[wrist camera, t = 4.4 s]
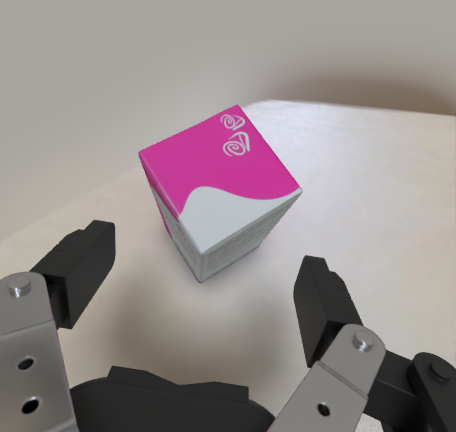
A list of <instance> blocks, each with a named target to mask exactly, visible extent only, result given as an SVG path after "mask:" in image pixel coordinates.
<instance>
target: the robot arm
mask: <svg viewBox="0 0 456 432" xmlns="http://www.w3.org/2000/svg"><path fill="white" fill-rule="evenodd" d="M114 261H115V225H114V223H111V222H105V221H99V220H93V221H92V222H91V223H90V224H89V225H88V226H87V227H86V228H85V229H84V230H80V229H79V230H77V231H74V232H72V233H70V234H68V235H66V236H65V237H64V238H63V239H62V240H61V241H60V242H59V244H57V245H56V246H55V247H54V248H53V250H52V251H50V252H49V253H48V254H47V255H46V256H45V257H43V258H42V259H41V260H40V261H39V262H38V263H37V264H36V265H35V266H34V267H33V268H32V269H31V270H30V271H29V272H20V273H15V274H12V275H9V276H7V277H5V278H3V279H1V280H0V432H355V429H356V427H357V425H358V422H359V420H360V418H361V415H362V413H364V414H367V415H369V416H371V417H373V418H375V419H377V420H379V421H380V422H381V425H382V428H383V431H384V432H456V369H455V368H454V367H453V366H452V365H451V364H450V363H448V362H447V361H445V360H444V359H442V358H440V357H438V356H436V355H434V354H431V353H426V352H421V353H418V354H416V355H415V357H414V358H413V360H409V359H407V358H404V357H402V356H400V355H397V354H395V353H392V352H390V351H388V350H386V348H385V345H384V343H383V342H382V340H381V339H380V338H379V337H378V336H377V335H376V334H375V333H374V332H373V331H371V330H370V329H368V328H366V327H364V326H363V323H362V321H361V319H360V317H359V314H358V312H357V310H356V308H355V305H354V303H353V301H352V300H351V297H350V294H349V292H348V290H347V288H346V285H345V283H344V281H343V280H342V279H341V278H340V277H339V276H338V275H337V274H336V273H335V272H331V271H329V269H328V266H327V264H326V261H325V259H324V258H319V257H313V256H307V255H306V256H305V257H304V258H303V261H302V264H301V267H300V270H299V273H298V276H297V279H296V282H295V285H294V292H293V297H294V303H295V308H296V313H297V318H298V323H299V328H300V333H301V338H302V343H303V348H304V353H305V358H306V363H307V367H308V368H311V369H310V370H309V372H308V373H307V375H306V376H305V378H304V379H303V380H302V382H301V383H300V385H299V386H298V388H297V389H296V390H295V392H294V393H293V395H292V396H291V398H290V399H289V400H288V402H287V403H286V405H285V406H284V408H283V409H282V410H281V412H280V413H279V415H278V416H277V418H275V417H274V416H273V415H272V414H271V413H270V412H269V411H268V410H267V409H265V408H264V407H263V406H261V405H260V404H258V403H256V402H255V401H253V400H250V399H249V396H248V387H246V386H240V385H234V384H227V383H221V382H207V383H197V384H187V385H177V384H175V383H172V382H170V381H168V380H165V379H163V378H161V377H159V376H156V375H154V374H152V373H149V372H147V371H143V370H137V369H130V368H124V367H117V366H112V367H111V369H110V372H109V374H108V376H107V377H103V378H98V379H93V380H90V381H87V382H84V383H81V384H79V385H77V386H75V387H73V388H71V389H69V385H68V380H67V375H66V371H65V366H64V361H63V357H62V352H61V347H60V343H59V338H58V333H57V330H58V329H59V327H60V328H66V329H72V328H73V326H74V325H75V323H76V322H77V320H78V319H79V317H80V316H81V314H82V313H83V311H84V310H85V308H86V307H87V305H88V304H89V302H90V300H91V299H92V297H93V296H94V294H95V293H96V291H97V290H98V288H99V287H100V285H101V284H102V282H103V281H104V279H105V278H106V276H107V275H108V273H109V272H110V270H111V269H112V267H113V264H114Z"/></svg>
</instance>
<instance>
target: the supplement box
mask: <svg viewBox="0 0 456 432" xmlns="http://www.w3.org/2000/svg"><path fill="white" fill-rule="evenodd" d="M139 158H140V160H141V163H142V166H143V169H144V171H145V174H146V176H147V179H148V182H149V184H150V187H151V190H152V192H153V194H154V197H155V200H156V202H157V205H158V208H159V211H160V213H161V216H162V218H163V221H164V224H165V227H166V229H167V231H168V233H169V234H170V236H171V238H172V240H173V241H174V243H175V245H176V246H177V248H178V250H179V251H180V253H181V255H182V256H183V258H184V260H185V261H186V263H187V264H188V266H189V268H190V269H191V271H192V272H193V274H194V276H195V277H196V279H197V280H198V282H199V283H202V282H203V281H205V280H207V279H208V278H210V277H211V276H213V275H215V274H216V273H218V272H219V271H221V270H223V269H224V268H226V267H227V266H229V265H231V264H232V263H234V262H235V261H237V260H239V259H240V258H242V257H243V256H245V255H247V254H248V253H250V252H251V251H253V250H254V249H256V248H257V247H259V245H260V244H261V243H262V241H263V240H264V239H265V237H266V236H267V235H268V234H269V233H270V231H271V230H272V229H273V228H274V226H275V225H276V224H277V223H278V222H279V220H280V219H281V218H282V217H283V216H284V214H285V213H286V212H287V211H288V209H289V208H290V207H291V206H292V205H293V203H294V202H295V201H296V200H297V198H298V197H299V196H300V195H301V193H302V192H303V191H302V188H301V187H300V186H299V185H298V183H297V182H296V181H295V179H294V178H293V177H292V175H291V174H290V173H289V171H288V170H287V169H286V168H285V166H284V165H283V164H282V162H281V161H280V160H279V158H278V157H277V156H276V154H275V153H274V152H273V150H272V149H271V148H270V146H269V145H268V144H267V143H266V141H265V140H264V139H263V137H262V136H261V134H260V133H259V132H258V131H257V129H256V128H255V127H254V125H253V124H252V123H251V121H250V120H249V119H248V117H247V116H246V115H245V113H244V112H243V111H242V109H241V108H240V107H239V106H238V105H236V106H233V107H231V108H228V109H226V110H224V111H222V112H220V113H218V114H216V115H214V116H212V117H211V118H209V119H207V120H205V121H203V122H201V123H199V124H197V125H195V126H193V127H190V128H188V129H186V130H184V131H182V132H180V133H178V134H176V135H173V136H171V137H169V138H167V139H165V140H162V141H160V142H158V143H156V144H154V145H152V146H149V147H147V148H145V149H143V150H141V151H139Z"/></svg>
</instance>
